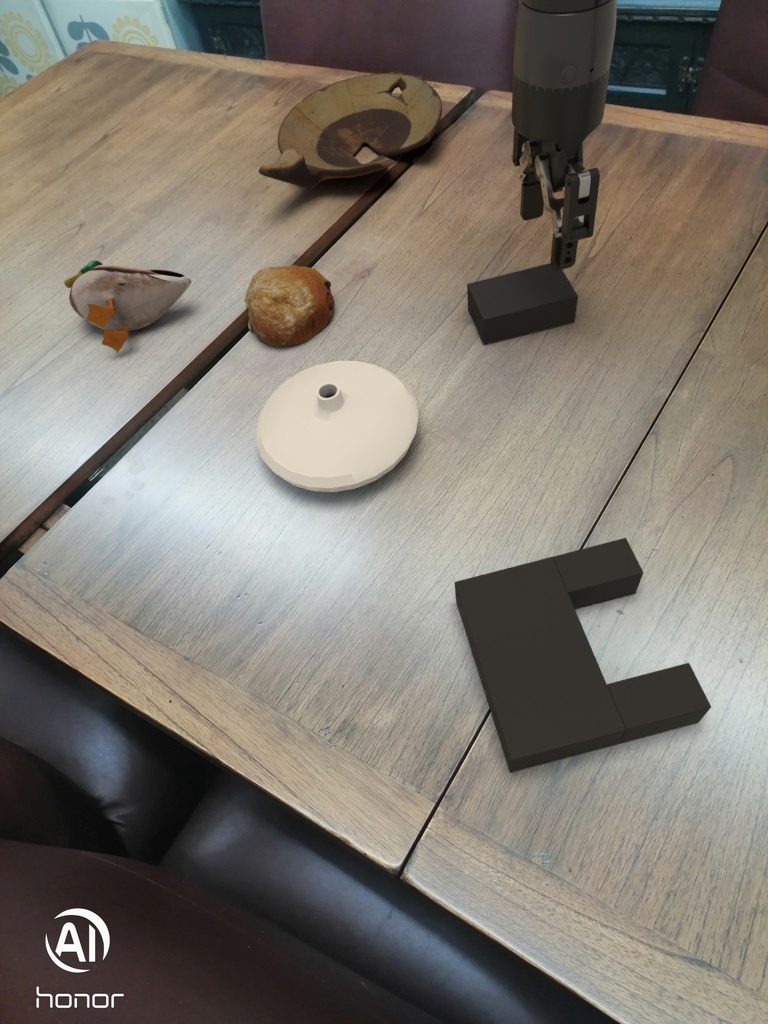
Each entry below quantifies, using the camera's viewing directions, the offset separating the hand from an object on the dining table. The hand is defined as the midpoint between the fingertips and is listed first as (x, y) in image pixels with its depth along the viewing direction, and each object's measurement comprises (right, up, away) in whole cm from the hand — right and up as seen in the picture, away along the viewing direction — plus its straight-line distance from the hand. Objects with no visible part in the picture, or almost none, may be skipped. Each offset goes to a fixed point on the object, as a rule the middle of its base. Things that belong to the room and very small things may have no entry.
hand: (546, 241), depth 68 cm
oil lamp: (-21, +23, +29) cm, 43 cm away
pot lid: (-20, -20, +1) cm, 28 cm away
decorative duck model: (-45, -2, +16) cm, 48 cm away
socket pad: (-2, -38, -14) cm, 41 cm away
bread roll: (-26, -4, +12) cm, 29 cm away
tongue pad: (-1, -5, +7) cm, 9 cm away
